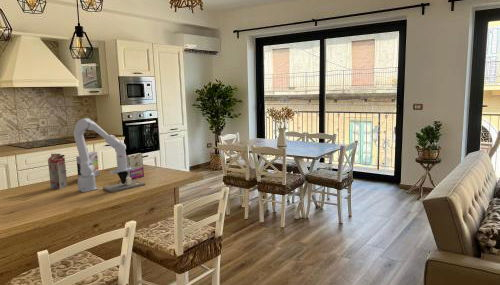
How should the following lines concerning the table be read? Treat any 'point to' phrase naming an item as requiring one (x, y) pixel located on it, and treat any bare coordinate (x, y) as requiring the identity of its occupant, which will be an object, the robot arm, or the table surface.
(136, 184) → the fader panel
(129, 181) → the fader knob
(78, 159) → the cake pan box
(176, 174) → the table surface
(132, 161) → the candy bar box
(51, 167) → the juice carton
